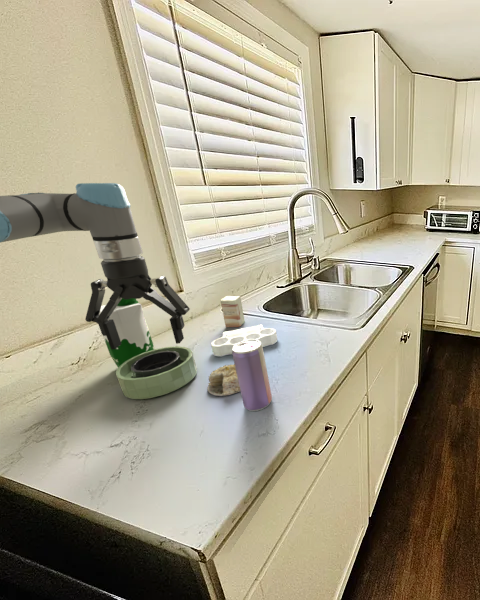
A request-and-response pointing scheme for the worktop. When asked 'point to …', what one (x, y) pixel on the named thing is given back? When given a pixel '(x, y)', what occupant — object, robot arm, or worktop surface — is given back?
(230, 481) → the worktop surface
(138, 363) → the charcoal bowl
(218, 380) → the cake
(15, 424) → the worktop surface
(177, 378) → the green bowl
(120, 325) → the milk carton
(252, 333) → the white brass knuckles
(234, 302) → the small white box
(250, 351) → the beverage can
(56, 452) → the worktop surface
